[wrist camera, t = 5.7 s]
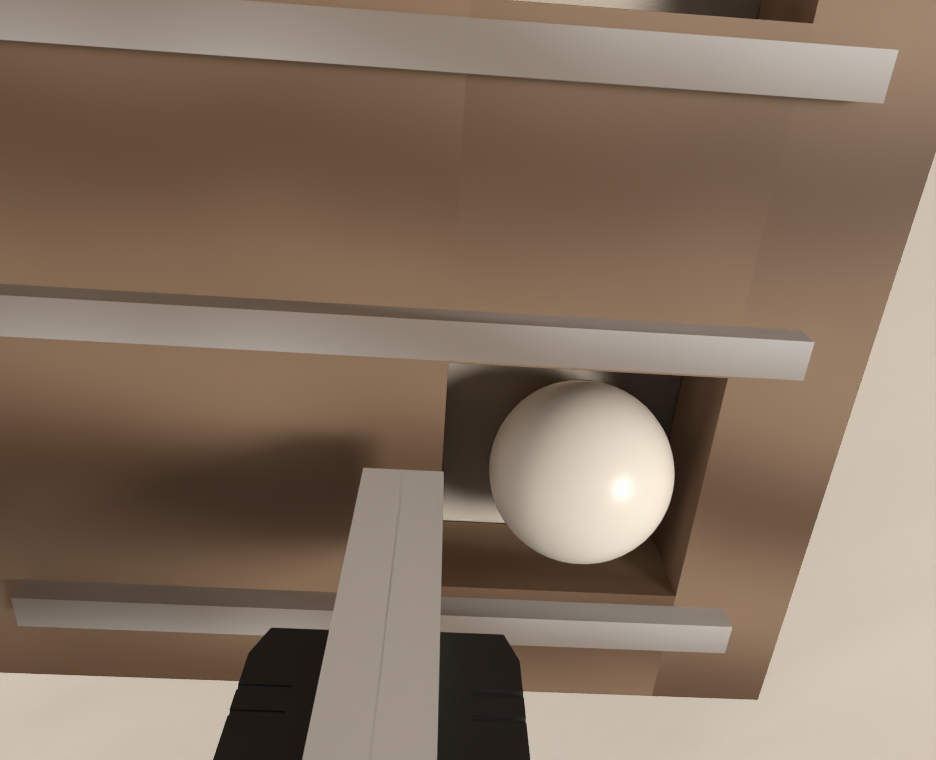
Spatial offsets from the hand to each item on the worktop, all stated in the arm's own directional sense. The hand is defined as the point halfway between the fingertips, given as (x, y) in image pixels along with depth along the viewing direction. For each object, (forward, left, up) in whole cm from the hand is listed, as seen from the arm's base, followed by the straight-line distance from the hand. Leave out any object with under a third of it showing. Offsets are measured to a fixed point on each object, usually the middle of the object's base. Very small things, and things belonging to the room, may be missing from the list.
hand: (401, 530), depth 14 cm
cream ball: (0, -4, -2) cm, 4 cm away
